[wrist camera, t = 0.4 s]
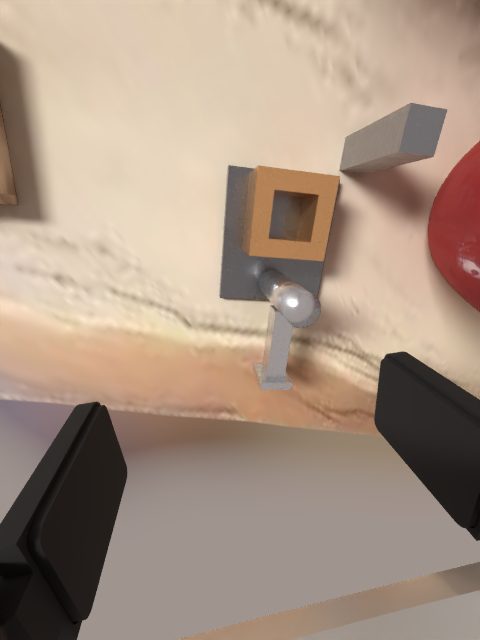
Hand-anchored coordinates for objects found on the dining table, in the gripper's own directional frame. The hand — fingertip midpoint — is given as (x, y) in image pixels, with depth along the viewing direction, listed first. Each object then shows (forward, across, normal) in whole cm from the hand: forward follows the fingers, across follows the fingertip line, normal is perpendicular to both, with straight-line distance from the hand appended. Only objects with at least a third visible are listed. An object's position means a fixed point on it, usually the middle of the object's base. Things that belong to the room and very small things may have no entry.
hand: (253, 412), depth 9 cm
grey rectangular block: (+30, -20, -12) cm, 37 cm away
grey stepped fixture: (+29, -8, +2) cm, 31 cm away
